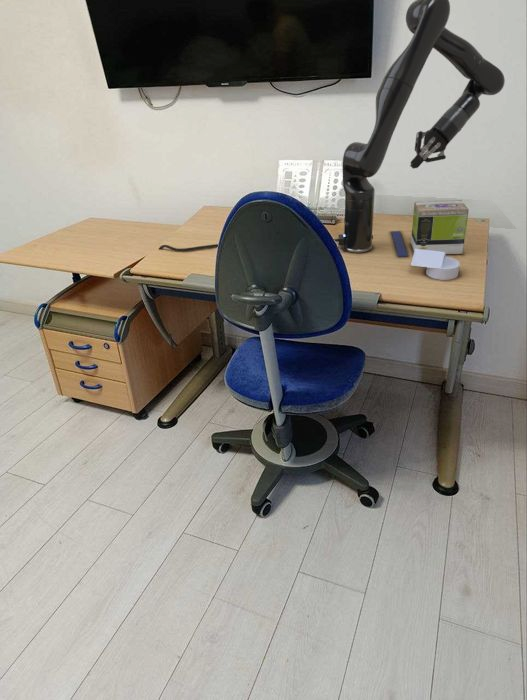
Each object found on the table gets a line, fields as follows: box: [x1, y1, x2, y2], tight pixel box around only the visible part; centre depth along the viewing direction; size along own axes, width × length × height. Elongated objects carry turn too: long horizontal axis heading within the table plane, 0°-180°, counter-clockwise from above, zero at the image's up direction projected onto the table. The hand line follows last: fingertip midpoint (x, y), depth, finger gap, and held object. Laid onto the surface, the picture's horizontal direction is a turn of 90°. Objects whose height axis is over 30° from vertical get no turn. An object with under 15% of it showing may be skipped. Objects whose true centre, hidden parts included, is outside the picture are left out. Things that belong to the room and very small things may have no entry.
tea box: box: [410, 199, 470, 255], centre depth 161 cm, size 15×10×15 cm, turn 83°
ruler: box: [391, 230, 408, 258], centre depth 170 cm, size 3×22×1 cm, turn 173°
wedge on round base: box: [410, 249, 461, 281], centre depth 149 cm, size 9×7×13 cm
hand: (412, 166), depth 167 cm, fingers closed
